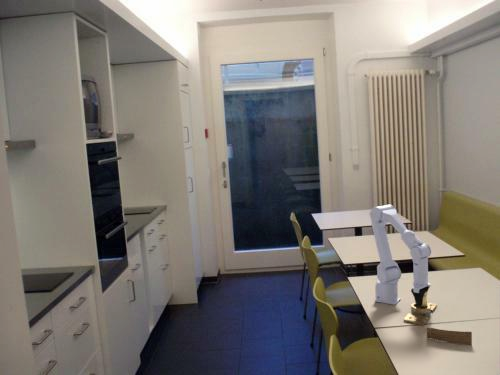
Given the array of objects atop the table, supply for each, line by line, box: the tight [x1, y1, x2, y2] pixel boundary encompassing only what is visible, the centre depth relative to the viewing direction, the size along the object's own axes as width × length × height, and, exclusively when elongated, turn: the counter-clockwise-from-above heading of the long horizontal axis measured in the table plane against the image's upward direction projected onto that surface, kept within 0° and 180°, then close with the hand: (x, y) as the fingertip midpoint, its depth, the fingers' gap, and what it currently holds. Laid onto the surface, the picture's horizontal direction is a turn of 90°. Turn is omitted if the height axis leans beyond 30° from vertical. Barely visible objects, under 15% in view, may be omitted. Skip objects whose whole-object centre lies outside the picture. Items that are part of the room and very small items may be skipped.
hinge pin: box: [417, 290, 428, 308], centre depth 199 cm, size 5×5×7 cm
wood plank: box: [426, 327, 473, 346], centre depth 174 cm, size 15×2×5 cm, turn 67°
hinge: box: [403, 302, 438, 326], centre depth 200 cm, size 8×22×4 cm, turn 146°
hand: (420, 303), depth 199 cm, fingers closed on hinge pin, 5 cm apart
